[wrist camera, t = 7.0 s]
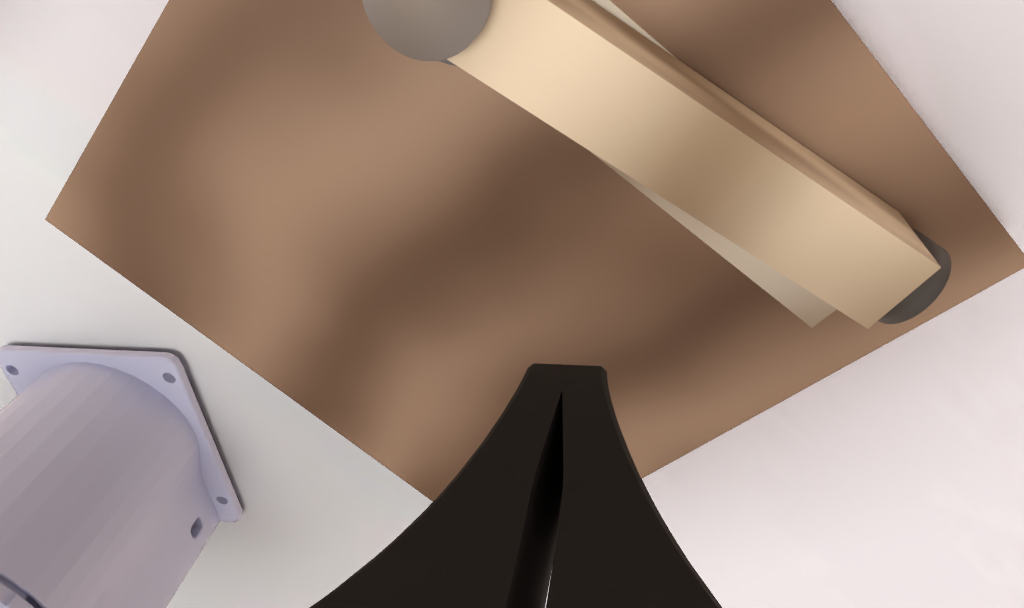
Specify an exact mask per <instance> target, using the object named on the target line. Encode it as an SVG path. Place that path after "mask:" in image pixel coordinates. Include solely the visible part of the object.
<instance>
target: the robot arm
mask: <svg viewBox="0 0 1024 608" xmlns="http://www.w3.org/2000/svg"><path fill="white" fill-rule="evenodd" d="M0 366H1V368H2V370H3V371H4V373H5V375H6V376H7V378H8V380H9V381H10V383H11V385H12V386H13V388H14V390H15V391H16V393H17V395H18V396H17V397H16V398H15V399H14V400H12V401H11V402H10V403H9V404H8V405H7V406H6V407H4V408H3V409H2V410H1V411H0V608H166V607H167V605H168V603H169V602H170V600H171V599H172V597H173V595H174V594H175V592H176V590H177V589H178V587H179V586H180V584H181V582H182V581H183V579H184V578H185V576H186V574H187V573H188V571H189V570H190V568H191V566H192V565H193V563H194V561H195V560H196V558H197V557H198V555H199V553H200V552H201V550H202V549H203V547H204V545H205V544H206V542H207V541H208V539H209V537H210V536H211V534H212V532H213V531H214V529H215V528H216V526H217V524H218V523H219V521H227V522H236V521H238V520H239V518H240V517H241V515H242V513H243V511H242V508H241V505H240V503H239V501H238V498H237V496H236V493H235V491H234V489H233V486H232V484H231V481H230V479H229V476H228V474H227V472H226V469H225V467H224V464H223V462H222V460H221V457H220V455H219V452H218V450H217V447H216V445H215V443H214V440H213V438H212V435H211V433H210V430H209V428H208V426H207V423H206V421H205V418H204V416H203V414H202V411H201V409H200V406H199V404H198V401H197V399H196V397H195V394H194V392H193V389H192V387H191V385H190V382H189V380H188V377H187V375H186V372H185V370H184V368H183V365H182V363H181V361H180V360H179V358H178V357H177V356H175V355H174V354H172V353H167V352H151V351H128V350H105V349H82V348H58V347H35V346H12V345H6V346H3V347H2V348H0ZM171 374H172V375H171ZM552 565H553V566H552ZM551 571H552V573H551ZM550 576H551V579H550ZM549 581H550V586H549ZM548 587H549V592H548ZM547 592H548V599H547V605H546V608H722V607H721V605H720V604H719V603H718V601H717V600H716V598H715V597H714V596H713V594H712V593H711V592H710V590H709V589H708V587H707V586H706V585H705V583H704V582H703V580H702V579H701V578H700V576H699V575H698V573H697V572H696V571H695V569H694V568H693V567H692V565H691V564H690V562H689V561H688V559H687V558H686V556H685V555H684V553H683V551H682V550H681V548H680V547H679V545H678V544H677V542H676V540H675V539H674V537H673V536H672V534H671V532H670V531H669V529H668V527H667V525H666V524H665V522H664V520H663V519H662V517H661V515H660V513H659V512H658V510H657V508H656V506H655V504H654V502H653V501H652V499H651V497H650V495H649V493H648V491H647V489H646V487H645V485H644V483H643V481H642V479H641V477H640V474H639V472H638V470H637V468H636V466H635V464H634V461H633V459H632V457H631V455H630V452H629V450H628V447H627V444H626V442H625V439H624V437H623V434H622V432H621V429H620V426H619V424H618V421H617V418H616V414H615V411H614V408H613V404H612V401H611V397H610V392H609V388H608V381H607V371H606V370H605V369H604V368H603V367H602V366H589V365H564V364H539V363H533V364H532V365H531V366H530V367H528V368H527V371H526V373H525V375H524V377H523V379H522V381H521V383H520V384H519V386H518V388H517V390H516V392H515V393H514V395H513V397H512V398H511V400H510V402H509V403H508V405H507V407H506V408H505V410H504V411H503V413H502V414H501V416H500V417H499V419H498V420H497V422H496V423H495V425H494V426H493V428H492V429H491V431H490V432H489V433H488V435H487V436H486V438H485V439H484V441H483V442H482V443H481V445H480V446H479V447H478V449H477V450H476V451H475V453H474V454H473V455H472V456H471V458H470V459H469V460H468V461H467V463H466V464H465V465H464V467H463V468H462V469H461V470H460V472H459V473H458V474H457V475H456V477H455V478H454V479H453V480H452V481H451V482H450V484H449V485H448V486H447V487H446V488H445V489H444V490H443V492H442V493H441V494H440V495H439V496H438V497H437V498H436V499H435V500H434V501H433V502H432V503H431V504H430V506H429V507H428V508H427V509H426V510H425V511H424V512H423V513H422V514H421V515H420V516H419V517H418V518H417V519H416V520H415V521H414V522H413V523H412V524H411V525H410V526H409V527H407V528H406V529H405V530H404V531H403V532H402V533H401V534H400V535H399V536H398V537H397V538H396V539H395V540H394V541H393V542H392V543H391V544H389V545H388V546H387V547H386V548H385V549H384V550H383V551H382V552H380V553H379V554H378V555H377V556H376V557H375V558H373V559H372V560H371V561H370V562H368V563H367V564H366V565H365V566H363V567H362V568H361V569H360V570H358V571H357V572H356V573H355V574H353V575H352V576H351V577H350V578H348V579H347V580H346V581H345V582H344V583H342V584H341V585H340V586H339V587H337V588H336V589H335V590H333V591H332V592H331V593H329V594H328V595H327V596H325V597H324V598H323V599H321V600H320V601H318V602H317V603H316V604H314V605H313V606H311V607H310V608H545V603H546V598H547Z"/></svg>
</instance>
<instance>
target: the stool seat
mask: <svg viewBox="0 0 1024 608" xmlns="http://www.w3.org/2000/svg"><path fill="white" fill-rule="evenodd" d="M592 1H594V2H595V3H597V4H598V5H599V6H601V7H602V8H604V9H605V10H607V11H608V12H610V13H611V14H613V15H614V16H615V17H617V18H618V19H620V20H621V21H623V22H624V23H626V24H627V25H628V26H630V27H631V28H633V29H634V30H636V31H637V32H639V33H640V34H642V35H643V36H644V37H646V38H647V39H649V40H650V41H652V42H653V43H655V44H656V45H658V46H659V47H660V48H662V49H663V50H665V51H666V52H668V53H669V54H671V55H672V56H674V57H675V58H676V59H678V60H679V61H681V62H682V63H684V64H685V65H687V66H688V67H690V68H691V69H692V70H694V71H695V72H697V73H698V74H700V75H701V76H703V77H704V78H706V79H707V80H708V81H710V82H711V83H713V84H714V85H716V86H717V87H719V88H720V89H722V90H723V91H724V92H726V93H727V94H729V95H730V96H732V97H733V98H735V99H736V100H737V101H739V102H740V103H742V104H743V105H745V106H746V107H748V108H749V109H751V110H752V111H753V112H755V113H756V114H758V115H759V116H761V117H762V118H764V119H765V120H767V121H768V122H769V123H771V124H772V125H774V126H775V127H777V128H778V129H780V130H781V131H783V132H784V133H785V134H787V135H788V136H790V137H791V138H793V139H794V140H796V141H797V142H799V143H800V144H801V145H803V146H804V147H806V148H807V149H809V150H810V151H812V152H813V153H815V154H816V155H817V156H819V157H820V158H822V159H823V160H825V161H826V162H828V163H829V164H830V165H832V166H833V167H835V168H836V169H838V170H839V171H841V172H842V173H844V174H845V175H846V176H848V177H849V178H851V179H852V180H854V181H855V182H857V183H858V184H860V185H861V186H862V187H864V188H865V189H867V190H868V191H870V192H871V193H873V194H874V195H876V196H877V197H878V198H880V199H881V200H883V201H884V202H886V203H887V204H889V205H890V206H892V207H893V208H894V209H896V210H897V211H899V213H900V214H901V215H902V217H903V218H904V219H905V221H906V222H907V223H908V225H909V226H910V227H911V228H912V229H916V230H917V231H919V232H921V233H922V234H924V235H925V236H926V237H928V238H929V239H931V240H932V241H934V242H935V243H937V244H938V245H940V246H941V247H942V248H944V249H945V250H946V251H947V252H948V253H949V255H950V258H951V272H950V276H949V279H948V281H947V283H946V285H945V287H944V289H943V290H942V292H941V293H940V295H939V296H938V297H937V298H936V300H935V301H934V302H933V303H932V304H931V305H930V306H929V307H928V308H926V309H925V310H924V311H923V312H921V313H920V314H918V315H917V316H915V317H913V318H911V319H909V320H907V321H905V322H901V323H898V324H884V323H881V322H879V321H877V322H876V323H874V324H873V325H872V326H871V327H870V328H868V329H867V328H866V327H864V326H862V325H861V324H859V323H858V322H856V321H855V320H853V319H851V318H850V317H848V316H847V315H845V314H844V313H842V312H841V311H839V310H837V309H836V308H834V307H833V306H831V305H830V304H828V303H827V302H825V301H823V300H822V299H820V298H819V297H817V296H816V295H814V294H812V293H811V292H809V291H808V290H806V289H805V288H803V287H802V286H800V285H798V284H797V283H795V282H794V281H792V280H791V279H789V278H787V277H786V276H784V275H783V274H781V273H780V272H778V271H777V270H775V269H773V268H772V267H770V266H769V265H767V264H766V263H764V262H763V261H761V260H759V259H758V258H756V257H755V256H753V255H752V254H750V253H748V252H747V251H745V250H744V249H742V248H741V247H739V246H738V245H736V244H734V243H733V242H731V241H730V240H728V239H727V238H725V237H723V236H722V235H720V234H719V233H717V232H716V231H714V230H713V229H711V228H709V227H708V226H706V225H705V224H703V223H702V222H700V221H698V220H697V219H695V218H694V217H692V216H691V215H689V214H688V213H686V212H684V211H683V210H681V209H680V208H678V207H677V206H675V205H674V204H672V203H670V202H669V201H667V200H666V199H664V198H663V197H661V196H659V195H658V194H656V193H655V192H653V191H652V190H650V189H649V188H647V187H645V186H644V185H642V184H641V183H639V182H638V181H636V180H634V179H633V178H631V177H630V176H628V175H627V174H625V173H624V172H622V171H620V170H619V169H617V168H616V167H614V166H613V165H611V164H610V163H608V162H606V161H605V160H603V159H602V158H600V157H599V156H597V155H595V154H594V153H592V152H591V151H589V150H588V149H586V148H585V147H583V146H581V145H580V144H578V143H577V142H575V141H574V140H572V139H570V138H569V137H567V136H566V135H564V134H563V133H561V132H560V131H558V130H556V129H555V128H553V127H552V126H550V125H549V124H547V123H545V122H544V121H542V120H541V119H539V118H538V117H536V116H535V115H533V114H531V113H530V112H528V111H527V110H525V109H524V108H522V107H521V106H519V105H517V104H516V103H514V102H513V101H511V100H510V99H508V98H506V97H505V96H503V95H502V94H500V93H499V92H497V91H496V90H494V89H492V88H491V87H489V86H488V85H486V84H485V83H483V82H481V81H480V80H478V79H477V78H475V77H474V76H472V75H471V74H469V73H467V72H466V71H464V70H463V69H461V68H460V67H458V66H457V65H455V64H453V63H452V62H450V61H449V60H447V59H445V60H440V61H420V60H416V59H412V58H409V57H407V56H404V55H402V54H401V53H399V52H397V51H396V50H394V49H393V48H391V47H390V46H389V45H388V44H387V43H386V42H385V41H383V39H382V38H381V37H380V36H379V35H378V34H377V32H376V31H375V29H374V28H373V26H372V24H371V23H370V21H369V19H368V17H367V14H366V12H365V9H364V5H363V2H362V0H169V1H168V3H167V5H166V7H165V9H164V10H163V12H162V14H161V16H160V17H159V19H158V21H157V23H156V24H155V26H154V28H153V30H152V31H151V33H150V35H149V37H148V39H147V40H146V42H145V44H144V46H143V47H142V49H141V51H140V53H139V54H138V56H137V58H136V60H135V62H134V63H133V65H132V67H131V69H130V70H129V72H128V74H127V76H126V77H125V79H124V81H123V83H122V84H121V86H120V88H119V90H118V92H117V93H116V95H115V97H114V99H113V100H112V102H111V104H110V106H109V107H108V109H107V111H106V113H105V115H104V116H103V118H102V120H101V122H100V123H99V125H98V127H97V129H96V130H95V132H94V134H93V136H92V137H91V139H90V141H89V143H88V145H87V146H86V148H85V150H84V152H83V153H82V155H81V157H80V159H79V160H78V162H77V164H76V166H75V168H74V169H73V171H72V173H71V175H70V176H69V178H68V180H67V182H66V183H65V185H64V187H63V189H62V190H61V192H60V194H59V196H58V198H57V199H56V201H55V203H54V205H53V206H52V208H51V210H50V212H49V213H48V215H47V217H46V219H45V220H46V221H48V222H49V223H51V224H52V225H53V226H55V227H56V228H57V229H59V230H60V231H62V232H63V233H64V234H66V235H67V236H68V237H70V238H71V239H73V240H74V241H75V242H77V243H78V244H79V245H81V246H82V247H84V248H85V249H86V250H88V251H89V252H90V253H92V254H93V255H95V256H96V257H97V258H99V259H100V260H101V261H103V262H104V263H106V264H107V265H108V266H110V267H111V268H113V269H114V270H115V271H117V272H118V273H119V274H121V275H122V276H124V277H125V278H126V279H128V280H129V281H130V282H132V283H133V284H135V285H136V286H137V287H139V288H140V289H141V290H143V291H144V292H146V293H147V294H148V295H150V296H151V297H152V298H154V299H155V300H157V301H158V302H159V303H161V304H162V305H163V306H165V307H166V308H168V309H169V310H170V311H172V312H173V313H174V314H176V315H177V316H179V317H180V318H181V319H183V320H184V321H185V322H187V323H188V324H190V325H191V326H192V327H194V328H195V329H196V330H198V331H199V332H201V333H202V334H203V335H205V336H206V337H207V338H209V339H210V340H212V341H213V342H214V343H216V344H217V345H218V346H220V347H221V348H223V349H224V350H225V351H227V352H228V353H229V354H231V355H232V356H234V357H235V358H236V359H238V360H239V361H240V362H242V363H243V364H245V365H246V366H247V367H249V368H250V369H251V370H253V371H254V372H256V373H257V374H258V375H260V376H261V377H262V378H264V379H265V380H267V381H268V382H269V383H271V384H272V385H273V386H275V387H276V388H278V389H279V390H280V391H282V392H283V393H284V394H286V395H287V396H289V397H290V398H291V399H293V400H294V401H295V402H297V403H298V404H300V405H301V406H302V407H304V408H305V409H306V410H308V411H309V412H311V413H312V414H313V415H315V416H316V417H317V418H319V419H320V420H322V421H323V422H324V423H326V424H327V425H328V426H330V427H331V428H333V429H334V430H335V431H337V432H338V433H339V434H341V435H342V436H344V437H345V438H346V439H348V440H349V441H351V442H352V443H353V444H355V445H356V446H357V447H359V448H360V449H362V450H363V451H364V452H366V453H367V454H368V455H370V456H371V457H373V458H374V459H375V460H377V461H378V462H379V463H381V464H382V465H384V466H385V467H386V468H388V469H389V470H390V471H392V472H393V473H395V474H396V475H397V476H399V477H400V478H401V479H403V480H404V481H406V482H407V483H408V484H410V485H411V486H412V487H414V488H415V489H417V490H418V491H419V492H421V493H422V494H423V495H425V496H426V497H428V498H429V499H430V500H432V501H434V500H435V499H436V498H437V497H438V496H439V495H440V494H441V493H442V492H443V490H444V489H445V488H446V487H447V486H448V485H449V484H450V482H451V481H452V480H453V479H454V478H455V477H456V475H457V474H458V473H459V472H460V470H461V469H462V468H463V467H464V465H465V464H466V463H467V461H468V460H469V459H470V458H471V456H472V455H473V454H474V453H475V451H476V450H477V449H478V447H479V446H480V445H481V443H482V442H483V441H484V439H485V438H486V436H487V435H488V433H489V432H490V431H491V429H492V428H493V426H494V425H495V423H496V422H497V420H498V419H499V417H500V416H501V414H502V413H503V411H504V410H505V408H506V407H507V405H508V403H509V402H510V400H511V398H512V397H513V395H514V393H515V392H516V390H517V388H518V386H519V384H520V383H521V381H522V379H523V377H524V375H525V373H526V371H527V368H528V367H530V366H531V365H532V364H533V363H539V364H564V365H589V366H602V367H603V368H604V369H605V370H606V371H607V381H608V388H609V392H610V397H611V401H612V404H613V408H614V411H615V414H616V418H617V421H618V424H619V426H620V429H621V432H622V434H623V437H624V439H625V442H626V444H627V447H628V450H629V452H630V455H631V457H632V459H633V461H634V464H635V466H636V468H637V470H638V472H639V474H640V477H641V479H642V478H644V477H645V476H647V475H649V474H651V473H653V472H654V471H656V470H658V469H660V468H662V467H664V466H665V465H667V464H669V463H671V462H673V461H674V460H676V459H678V458H680V457H682V456H684V455H685V454H687V453H689V452H691V451H693V450H694V449H696V448H698V447H700V446H702V445H703V444H705V443H707V442H709V441H711V440H713V439H714V438H716V437H718V436H720V435H722V434H723V433H725V432H727V431H729V430H731V429H733V428H734V427H736V426H738V425H740V424H742V423H743V422H745V421H747V420H749V419H751V418H752V417H754V416H756V415H758V414H760V413H762V412H763V411H765V410H767V409H769V408H771V407H772V406H774V405H776V404H778V403H780V402H782V401H783V400H785V399H787V398H789V397H791V396H792V395H794V394H796V393H798V392H800V391H801V390H803V389H805V388H807V387H809V386H811V385H812V384H814V383H816V382H818V381H820V380H821V379H823V378H825V377H827V376H829V375H831V374H832V373H834V372H836V371H838V370H840V369H841V368H843V367H845V366H847V365H849V364H851V363H852V362H854V361H856V360H858V359H860V358H861V357H863V356H865V355H867V354H869V353H870V352H872V351H874V350H876V349H878V348H880V347H881V346H883V345H885V344H887V343H889V342H890V341H892V340H894V339H896V338H898V337H900V336H901V335H903V334H905V333H907V332H909V331H910V330H912V329H914V328H916V327H918V326H919V325H921V324H923V323H925V322H927V321H929V320H930V319H932V318H934V317H936V316H938V315H939V314H941V313H943V312H945V311H947V310H949V309H950V308H952V307H954V306H956V305H958V304H959V303H961V302H963V301H965V300H967V299H968V298H970V297H972V296H974V295H976V294H978V293H979V292H981V291H983V290H985V289H987V288H988V287H990V286H992V285H994V284H996V283H998V282H999V281H1001V280H1003V279H1005V278H1007V277H1008V276H1010V275H1012V274H1014V273H1016V272H1017V271H1019V270H1021V269H1023V268H1024V253H1023V252H1022V251H1021V249H1020V248H1019V247H1018V246H1017V244H1016V243H1015V242H1014V240H1013V239H1012V238H1011V236H1010V235H1009V234H1008V232H1007V231H1006V230H1005V228H1004V227H1003V226H1002V225H1001V223H1000V222H999V221H998V219H997V218H996V217H995V215H994V214H993V213H992V211H991V210H990V209H989V207H988V206H987V205H986V204H985V202H984V201H983V200H982V198H981V197H980V196H979V194H978V193H977V192H976V190H975V189H974V188H973V186H972V185H971V184H970V182H969V181H968V180H967V179H966V177H965V176H964V175H963V173H962V172H961V171H960V169H959V168H958V167H957V165H956V164H955V163H954V161H953V160H952V159H951V158H950V156H949V155H948V154H947V152H946V151H945V150H944V148H943V147H942V146H941V144H940V143H939V142H938V140H937V139H936V138H935V136H934V135H933V134H932V133H931V131H930V130H929V129H928V127H927V126H926V125H925V123H924V122H923V121H922V119H921V118H920V117H919V115H918V114H917V113H916V112H915V110H914V109H913V108H912V106H911V105H910V104H909V102H908V101H907V100H906V98H905V97H904V96H903V94H902V93H901V92H900V91H899V89H898V88H897V87H896V85H895V84H894V83H893V81H892V80H891V79H890V77H889V76H888V75H887V73H886V72H885V71H884V69H883V68H882V67H881V66H880V64H879V63H878V62H877V60H876V59H875V58H874V56H873V55H872V54H871V52H870V51H869V50H868V48H867V47H866V46H865V45H864V43H863V42H862V41H861V39H860V38H859V37H858V35H857V34H856V33H855V31H854V30H853V29H852V27H851V26H850V25H849V23H848V22H847V21H846V20H845V18H844V17H843V16H842V14H841V13H840V12H839V10H838V9H837V8H836V6H835V5H834V4H833V2H832V1H831V0H592Z"/></svg>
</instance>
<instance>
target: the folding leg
mask: <svg viewBox="0 0 1024 608" xmlns="http://www.w3.org/2000/svg"><path fill="white" fill-rule="evenodd" d="M362 2H363V5H364V9H365V12H366V14H367V17H368V19H369V21H370V23H371V24H372V26H373V28H374V29H375V31H376V32H377V34H378V35H379V36H380V37H381V38H382V39H383V41H385V42H386V43H387V44H388V45H389V46H390V47H391V48H393V49H394V50H396V51H397V52H399V53H401V54H402V55H404V56H407V57H409V58H412V59H416V60H420V61H440V60H445V59H447V60H449V61H450V62H452V63H453V64H455V65H457V66H458V67H460V68H461V69H463V70H464V71H466V72H467V73H469V74H471V75H472V76H474V77H475V78H477V79H478V80H480V81H481V82H483V83H485V84H486V85H488V86H489V87H491V88H492V89H494V90H496V91H497V92H499V93H500V94H502V95H503V96H505V97H506V98H508V99H510V100H511V101H513V102H514V103H516V104H517V105H519V106H521V107H522V108H524V109H525V110H527V111H528V112H530V113H531V114H533V115H535V116H536V117H538V118H539V119H541V120H542V121H544V122H545V123H547V124H549V125H550V126H552V127H553V128H555V129H556V130H558V131H560V132H561V133H563V134H564V135H566V136H567V137H569V138H570V139H572V140H574V141H575V142H577V143H578V144H580V145H581V146H583V147H585V148H586V149H588V150H589V151H591V152H592V153H594V154H595V155H597V156H599V157H600V158H602V159H603V160H605V161H606V162H608V163H610V164H611V165H613V166H614V167H616V168H617V169H619V170H620V171H622V172H624V173H625V174H627V175H628V176H630V177H631V178H633V179H634V180H636V181H638V182H639V183H641V184H642V185H644V186H645V187H647V188H649V189H650V190H652V191H653V192H655V193H656V194H658V195H659V196H661V197H663V198H664V199H666V200H667V201H669V202H670V203H672V204H674V205H675V206H677V207H678V208H680V209H681V210H683V211H684V212H686V213H688V214H689V215H691V216H692V217H694V218H695V219H697V220H698V221H700V222H702V223H703V224H705V225H706V226H708V227H709V228H711V229H713V230H714V231H716V232H717V233H719V234H720V235H722V236H723V237H725V238H727V239H728V240H730V241H731V242H733V243H734V244H736V245H738V246H739V247H741V248H742V249H744V250H745V251H747V252H748V253H750V254H752V255H753V256H755V257H756V258H758V259H759V260H761V261H763V262H764V263H766V264H767V265H769V266H770V267H772V268H773V269H775V270H777V271H778V272H780V273H781V274H783V275H784V276H786V277H787V278H789V279H791V280H792V281H794V282H795V283H797V284H798V285H800V286H802V287H803V288H805V289H806V290H808V291H809V292H811V293H812V294H814V295H816V296H817V297H819V298H820V299H822V300H823V301H825V302H827V303H828V304H830V305H831V306H833V307H834V308H836V309H837V310H839V311H841V312H842V313H844V314H845V315H847V316H848V317H850V318H851V319H853V320H855V321H856V322H858V323H859V324H861V325H862V326H864V327H866V328H867V329H868V328H870V327H871V326H872V325H873V324H874V323H876V322H877V321H879V322H881V323H884V324H898V323H901V322H905V321H907V320H909V319H911V318H913V317H915V316H917V315H918V314H920V313H921V312H923V311H924V310H925V309H926V308H928V307H929V306H930V305H931V304H932V303H933V302H934V301H935V300H936V298H937V297H938V296H939V295H940V293H941V292H942V290H943V289H944V287H945V285H946V283H947V281H948V279H949V276H950V272H951V258H950V255H949V253H948V252H947V251H946V250H945V249H944V248H942V247H941V246H940V245H938V244H937V243H935V242H934V241H932V240H931V239H929V238H928V237H926V236H925V235H924V234H922V233H921V232H919V231H917V230H916V229H912V228H911V227H910V226H909V225H908V223H907V222H906V221H905V219H904V218H903V217H902V215H901V214H900V213H899V211H897V210H896V209H894V208H893V207H892V206H890V205H889V204H887V203H886V202H884V201H883V200H881V199H880V198H878V197H877V196H876V195H874V194H873V193H871V192H870V191H868V190H867V189H865V188H864V187H862V186H861V185H860V184H858V183H857V182H855V181H854V180H852V179H851V178H849V177H848V176H846V175H845V174H844V173H842V172H841V171H839V170H838V169H836V168H835V167H833V166H832V165H830V164H829V163H828V162H826V161H825V160H823V159H822V158H820V157H819V156H817V155H816V154H815V153H813V152H812V151H810V150H809V149H807V148H806V147H804V146H803V145H801V144H800V143H799V142H797V141H796V140H794V139H793V138H791V137H790V136H788V135H787V134H785V133H784V132H783V131H781V130H780V129H778V128H777V127H775V126H774V125H772V124H771V123H769V122H768V121H767V120H765V119H764V118H762V117H761V116H759V115H758V114H756V113H755V112H753V111H752V110H751V109H749V108H748V107H746V106H745V105H743V104H742V103H740V102H739V101H737V100H736V99H735V98H733V97H732V96H730V95H729V94H727V93H726V92H724V91H723V90H722V89H720V88H719V87H717V86H716V85H714V84H713V83H711V82H710V81H708V80H707V79H706V78H704V77H703V76H701V75H700V74H698V73H697V72H695V71H694V70H692V69H691V68H690V67H688V66H687V65H685V64H684V63H682V62H681V61H679V60H678V59H676V58H675V57H674V56H672V55H671V54H669V53H668V52H666V51H665V50H663V49H662V48H660V47H659V46H658V45H656V44H655V43H653V42H652V41H650V40H649V39H647V38H646V37H644V36H643V35H642V34H640V33H639V32H637V31H636V30H634V29H633V28H631V27H630V26H628V25H627V24H626V23H624V22H623V21H621V20H620V19H618V18H617V17H615V16H614V15H613V14H611V13H610V12H608V11H607V10H605V9H604V8H602V7H601V6H599V5H598V4H597V3H595V2H594V1H592V0H362Z"/></svg>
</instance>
